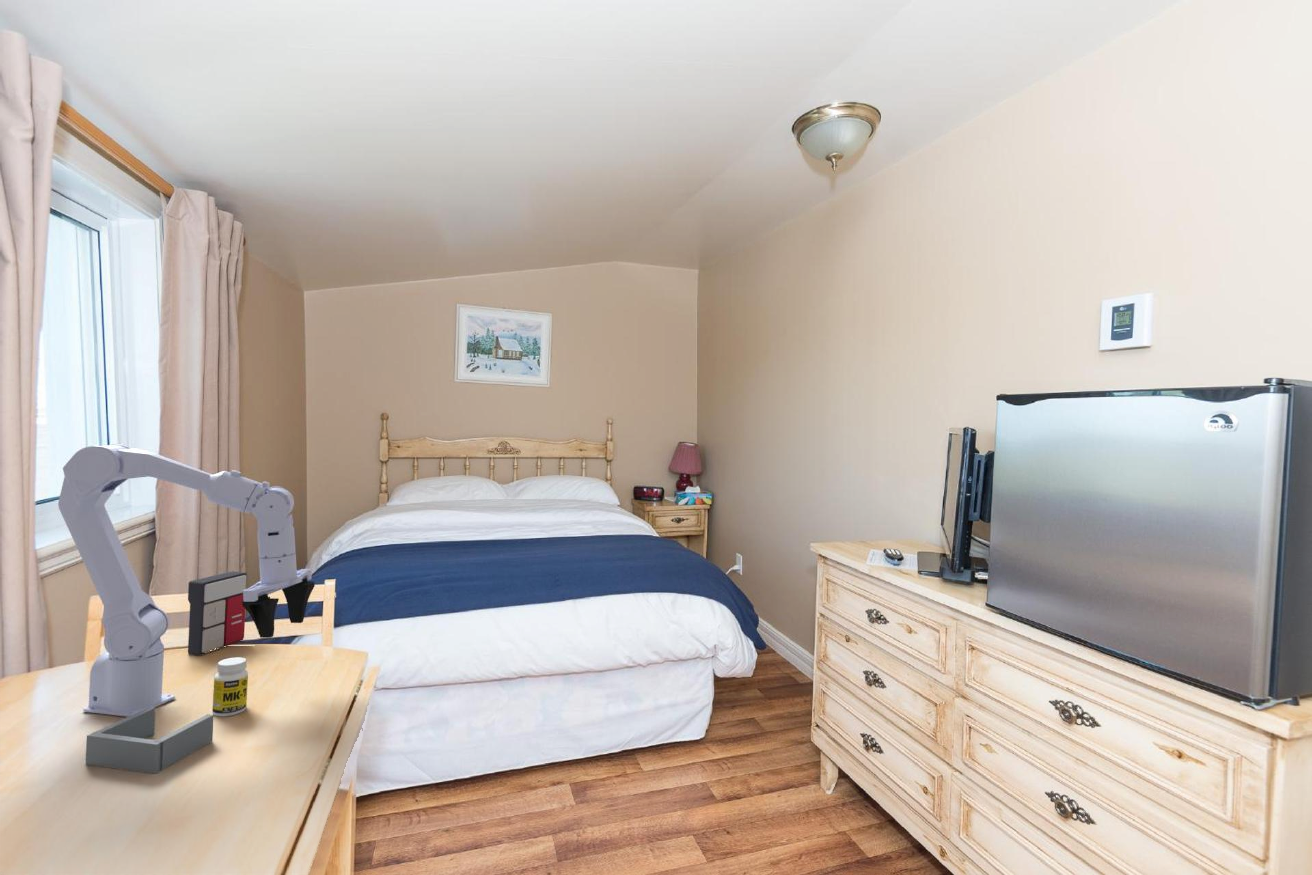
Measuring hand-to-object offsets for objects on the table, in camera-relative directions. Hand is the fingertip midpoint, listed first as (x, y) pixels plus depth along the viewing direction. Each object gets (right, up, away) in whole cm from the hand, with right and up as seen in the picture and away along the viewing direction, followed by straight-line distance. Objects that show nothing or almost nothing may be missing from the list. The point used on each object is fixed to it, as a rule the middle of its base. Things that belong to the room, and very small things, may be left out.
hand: (282, 629), depth 115 cm
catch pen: (-6, -11, -22) cm, 25 cm away
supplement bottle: (-4, -11, -8) cm, 15 cm away
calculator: (-26, -10, +21) cm, 35 cm away
